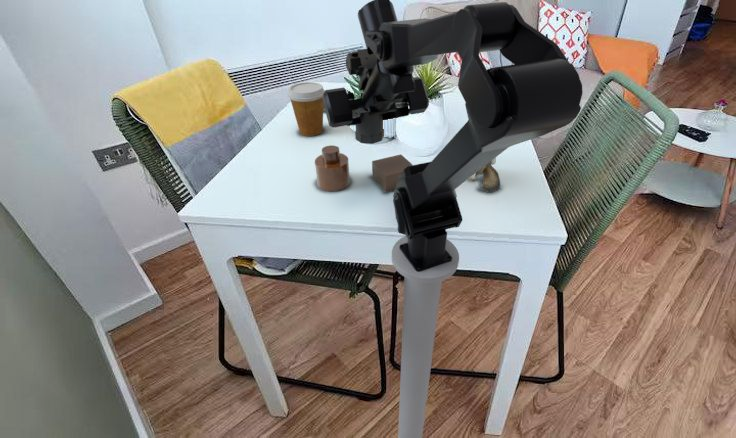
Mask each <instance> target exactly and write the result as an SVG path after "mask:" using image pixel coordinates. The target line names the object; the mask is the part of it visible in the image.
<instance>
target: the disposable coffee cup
mask: <svg viewBox="0 0 736 438" xmlns="http://www.w3.org/2000/svg"><path fill="white" fill-rule="evenodd" d="M325 90H326V89H324V87H323V85H322V84H321V83H319V82H315V81H313V82H312V81H305V82H298V83H294V84H292V85H290V86H289V88H288V92H287V97H288V98H289V100H290V103H291V107H292V110H293V113H294V116H295V120H296V124H297V127H298V131H299V134H300V135H302V136H305V137H315V136H318V135H321V134H322V132H324V112H323V100H322V97H323V93H324V92H325Z"/></svg>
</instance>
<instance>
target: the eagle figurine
mask: <svg viewBox="0 0 736 438" xmlns="http://www.w3.org/2000/svg"><path fill="white" fill-rule="evenodd" d="M496 158H497V157H496ZM496 158H494V159H493V160H492V161H490V162H489V163H488V164H487V165H485V166H484V167H483V168H481V169H480V170H479V171H478V172H476V173H475V174H474V175H473V176H471V179H470V181H473V180H476V179H477V178H478V177H479V176H480V175H482V176H483V177H482V179H483V181H482V183H481V187H480V189H481V190H482V191H483V192H486V193H490V194H491V193H492V192H495V191H498V189H499V188H500V186H501V179H500V175H499V173H498V171H497V170H496V169H495V168H494V167H493V165H495V164H496V162H497V159H496Z"/></svg>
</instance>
